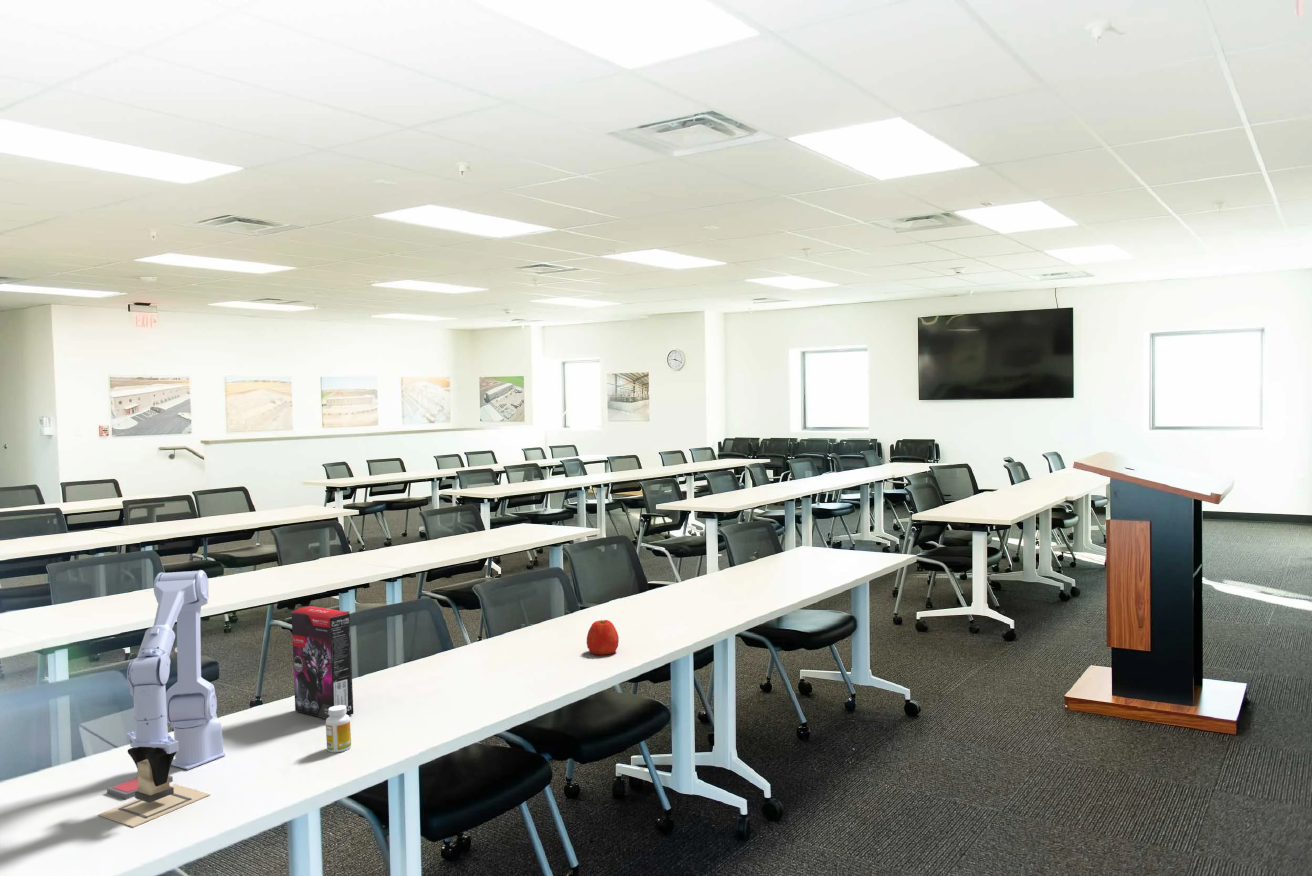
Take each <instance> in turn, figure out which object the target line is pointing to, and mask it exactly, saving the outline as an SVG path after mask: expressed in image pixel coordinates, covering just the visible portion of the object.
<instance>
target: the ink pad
mask: <svg viewBox="0 0 1312 876" xmlns="http://www.w3.org/2000/svg"><path fill="white" fill-rule="evenodd" d="M173 781H174V780H173V776H172V775H169V783H171V782H173ZM137 791H139V788H138V776H137V777H133V778H132V779H128V780H126V781H123V782H120V783H118V784H115V785H112V786H110V787H107V788H106V793H107V794H108V795H113V796H115V797H118V798H121V799H124V800H128V799H130V798H131V799H132V798H133V797H135V792H137Z"/></svg>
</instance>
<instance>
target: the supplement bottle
mask: <svg viewBox="0 0 1312 876" xmlns="http://www.w3.org/2000/svg"><path fill="white" fill-rule="evenodd" d="M346 711H347V710H346V706H344V705H337V706H333V707H330V708H329V709H328V714H329V716H330V717H328V718H327V719H326V718H325V734H326V735H325V737H326V738H325V739H326V750H327V752H329V753H342V752H345V751H346V752H347V750H349V749H350V748H351V747H352V733H351V730H352V729H351V717H350V715H349V716H348V715H346Z"/></svg>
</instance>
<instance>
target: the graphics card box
mask: <svg viewBox="0 0 1312 876" xmlns="http://www.w3.org/2000/svg"><path fill="white" fill-rule="evenodd" d="M350 615H351V613H350V611H349V610H348V611H346V610H338V609H331V608H326V607H320V606H313V605H310V606H302V607H299V608H297V609H295V610H292V611H291V630H292V631H291V632H292V633H291V635H292V656H293V660H292V661H293V681H294V682H293V683H294V709H295V710H294V711H295V712H299V713H302V714H307V715H309V716H310V715H311V716H315V717H319V718H322V719H325V720H326V719H327V718H328V717H330V716H329V714H328V709H329V708H330V707H333V706H337V705H344V706H346V710H347V711H346V715H348V716H349V717H350V716H351V715H354V694H353V668H352V666H353V665H352V664H353V663H352V641H351V640H352V639H351V620H350V619H351V617H350Z"/></svg>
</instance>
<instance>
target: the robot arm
mask: <svg viewBox="0 0 1312 876" xmlns="http://www.w3.org/2000/svg"><path fill="white" fill-rule="evenodd" d="M153 594H154V597H155V599H156V603H157V608H156V612H155V618H154V623H153V626H151V627H148V628H147V629H146V631H145V632H144V636H143V639H142V641H141V644H140V648H139V650H138V653H137V655H136V658H134V659H133V660H131V661H130V662H129V663H128V667H127V673H126V681H127V682H126V683H127V685H128V687H129V695H130V696H131V697H132V698H133V714H134V729H135V730H134V731H131V732H127V733H126V743H127V744H129V748H128V749H127V753H128V755H129V756H130V757H131V759H132V760H133V762H134V764H135V767H136V768H137V762H140V761H143V760H146V759H147V760H148V761H149V763H150V766H151V769H152V775H153V781H154V784H155V786H160V785H162V784H165V783H167V779H168V774H169V775H170V771H171V770H170V769H171V766H173V767H176V768H180V769H184V770H191V769H193V768H196V767H198V766H199V767H200V766H201V765H203V764H206V763H208V762H211V761H214V760H217V759H220V758H221V757H224V756H226V752H224V745H223V743H224V741H223V727H222V724H221V722H220V720H219V718H217V717H216V714H217V713H216V712H217V705H218V701H217V696H216V688H215V685H214V684H213V683H211V682H210V681H208V680H206V679H204V678H203V677H202V650H201V649H202V647H201V646H202V645H201V641H202V639H201V611H202V607H204V606H206V605H207V604H209V578H208V576H207V573H206V572H205V571H204V570H202V569H199V570H192V571H190V570H189V571H176V572H175V571H173V572H163V571H162V572H159V573H157V575H156V576H155V577H154V581H153ZM175 623H176V631H177V632H176V633H175V631H174V630H173V628H174V625H175ZM176 638H177V639H176ZM175 639H176V645H177V647H176V652H177V653H176V655H177V656H176V657H177V658H176V659H177V681H176V682H175V683H174V684H173V685H171V686H170V687H169V688H168V689H166V687H167V686H166V684H167V682H168V681H169V677H170V672H171V671H170V670H171V657H170V656H171V653H172V649H173V645H174V644H175V643H174V642H175ZM168 724H170V727H171V728H173V737H172V736H171V734H170V733H169V732H168V730H169V728H168Z"/></svg>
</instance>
